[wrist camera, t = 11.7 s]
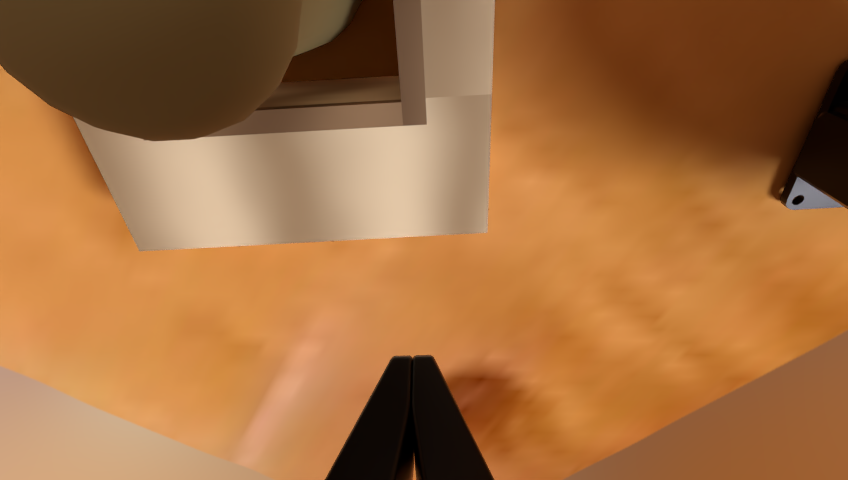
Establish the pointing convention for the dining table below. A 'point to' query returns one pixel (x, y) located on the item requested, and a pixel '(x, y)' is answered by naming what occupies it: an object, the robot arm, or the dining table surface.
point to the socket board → (329, 151)
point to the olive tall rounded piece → (161, 57)
